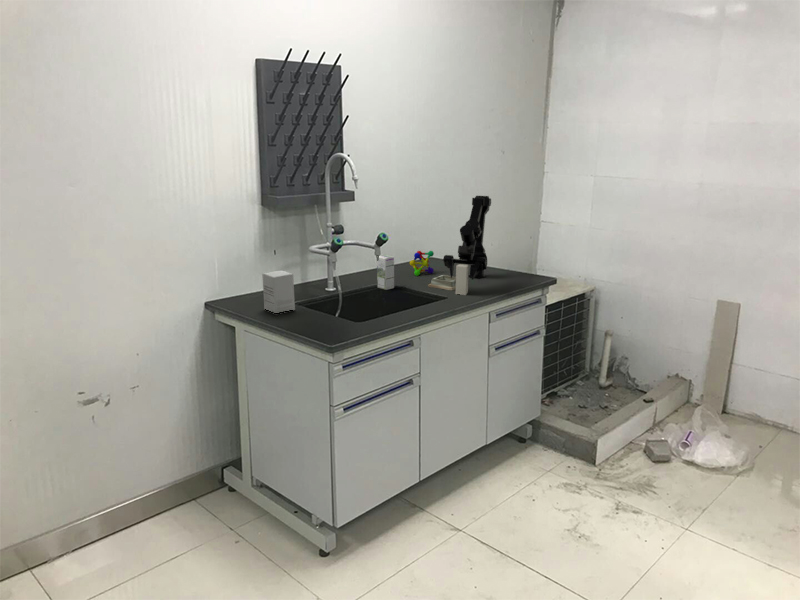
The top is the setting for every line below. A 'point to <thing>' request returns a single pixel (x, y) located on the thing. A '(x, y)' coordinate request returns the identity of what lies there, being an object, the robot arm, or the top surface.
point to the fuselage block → (462, 279)
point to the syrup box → (385, 272)
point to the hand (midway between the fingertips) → (461, 278)
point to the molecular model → (424, 262)
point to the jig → (443, 282)
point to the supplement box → (278, 291)
